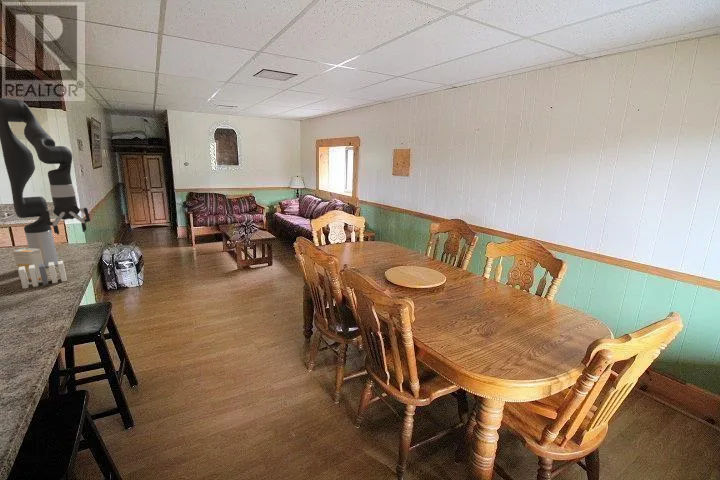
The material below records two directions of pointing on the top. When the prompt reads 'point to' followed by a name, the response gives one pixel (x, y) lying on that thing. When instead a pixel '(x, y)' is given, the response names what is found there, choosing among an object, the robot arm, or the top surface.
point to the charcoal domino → (43, 274)
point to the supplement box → (28, 260)
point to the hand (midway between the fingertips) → (71, 232)
